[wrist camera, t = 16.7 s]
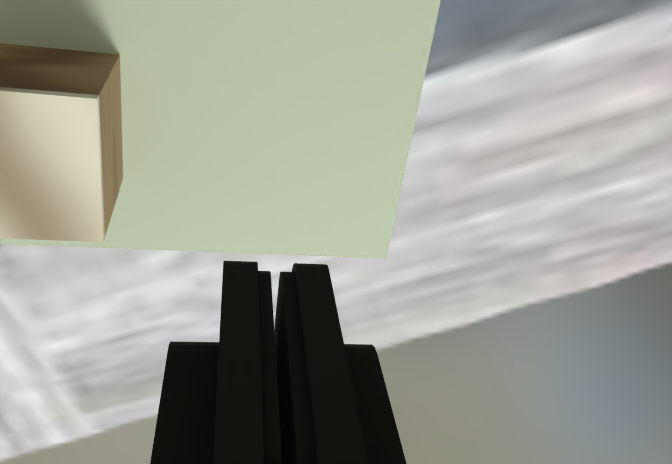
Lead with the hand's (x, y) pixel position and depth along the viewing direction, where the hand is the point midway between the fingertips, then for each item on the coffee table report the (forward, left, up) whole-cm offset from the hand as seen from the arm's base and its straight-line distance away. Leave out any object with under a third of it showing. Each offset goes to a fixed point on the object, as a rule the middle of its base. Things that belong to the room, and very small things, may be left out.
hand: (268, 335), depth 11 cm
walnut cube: (+8, +4, -15) cm, 17 cm away
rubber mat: (+3, +4, -21) cm, 22 cm away
